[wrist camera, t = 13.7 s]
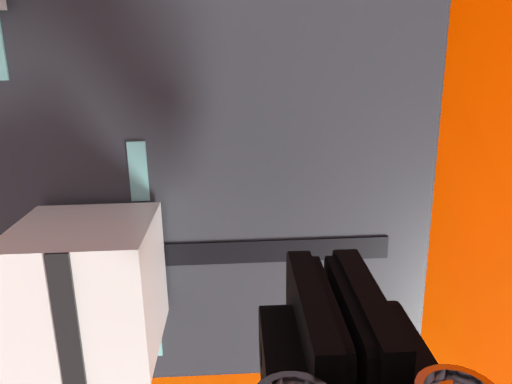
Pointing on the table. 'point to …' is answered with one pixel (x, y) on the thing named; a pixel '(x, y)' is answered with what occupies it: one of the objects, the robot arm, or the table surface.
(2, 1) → the fader
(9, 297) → the fader
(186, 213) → the console
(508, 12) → the table surface
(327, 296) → the robot arm
